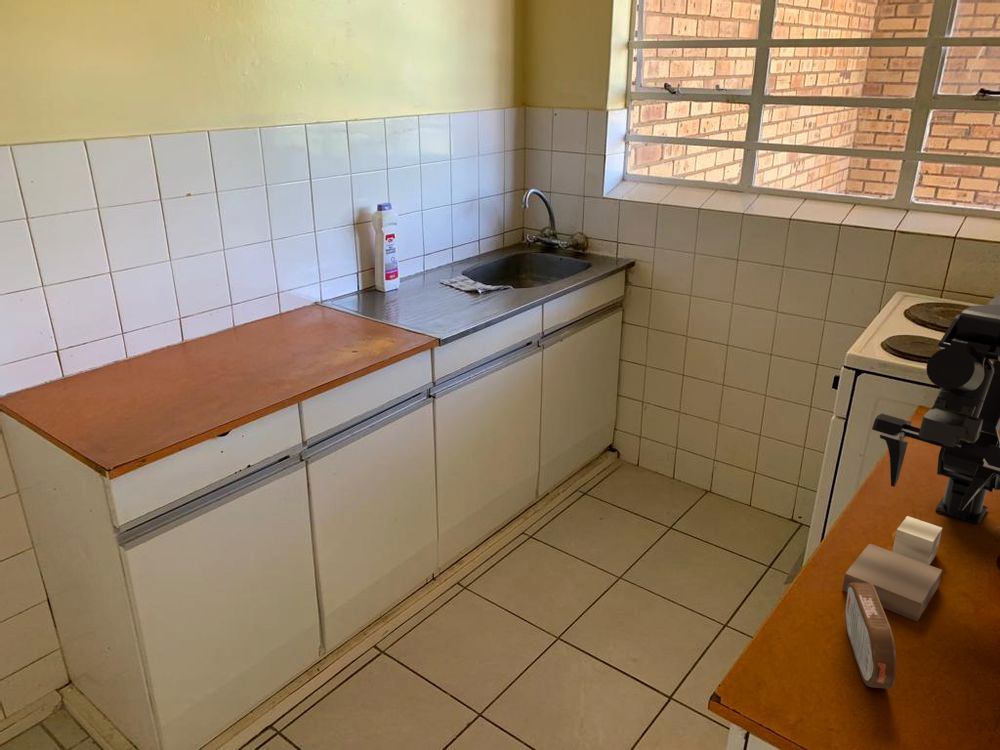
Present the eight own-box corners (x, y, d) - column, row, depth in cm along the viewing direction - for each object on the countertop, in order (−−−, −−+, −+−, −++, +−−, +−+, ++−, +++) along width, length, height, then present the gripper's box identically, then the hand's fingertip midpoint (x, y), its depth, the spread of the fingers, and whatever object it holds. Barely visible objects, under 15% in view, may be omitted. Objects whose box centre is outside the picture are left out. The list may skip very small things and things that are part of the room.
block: (901, 542, 119) (907, 515, 118) (936, 555, 116) (942, 527, 114) (891, 556, 116) (896, 529, 114) (926, 570, 113) (933, 541, 111)
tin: (892, 705, 89) (905, 648, 86) (863, 701, 89) (875, 645, 86) (862, 621, 102) (872, 570, 99) (837, 618, 103) (846, 567, 100)
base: (866, 559, 115) (869, 543, 114) (938, 587, 109) (942, 569, 108) (842, 590, 109) (845, 573, 107) (917, 621, 102) (921, 603, 101)
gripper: (880, 373, 108) (846, 475, 110) (1032, 412, 97) (991, 525, 98) (897, 380, 117) (865, 475, 118) (1038, 417, 105) (1001, 521, 107)
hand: (925, 497), depth 110 cm, fingers open, 9 cm apart
